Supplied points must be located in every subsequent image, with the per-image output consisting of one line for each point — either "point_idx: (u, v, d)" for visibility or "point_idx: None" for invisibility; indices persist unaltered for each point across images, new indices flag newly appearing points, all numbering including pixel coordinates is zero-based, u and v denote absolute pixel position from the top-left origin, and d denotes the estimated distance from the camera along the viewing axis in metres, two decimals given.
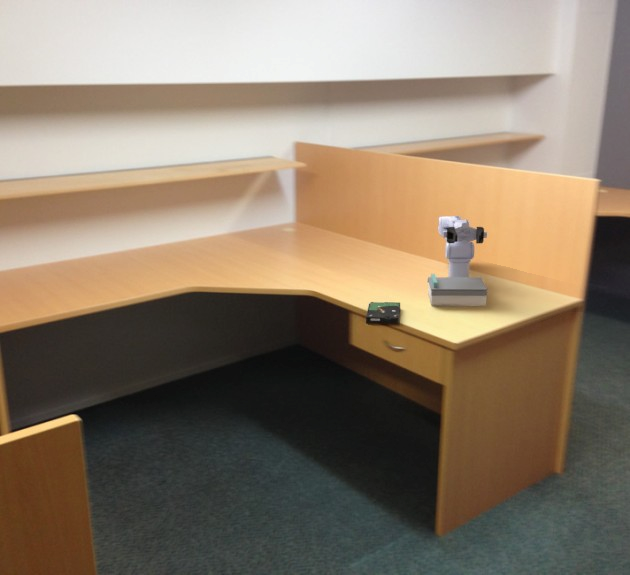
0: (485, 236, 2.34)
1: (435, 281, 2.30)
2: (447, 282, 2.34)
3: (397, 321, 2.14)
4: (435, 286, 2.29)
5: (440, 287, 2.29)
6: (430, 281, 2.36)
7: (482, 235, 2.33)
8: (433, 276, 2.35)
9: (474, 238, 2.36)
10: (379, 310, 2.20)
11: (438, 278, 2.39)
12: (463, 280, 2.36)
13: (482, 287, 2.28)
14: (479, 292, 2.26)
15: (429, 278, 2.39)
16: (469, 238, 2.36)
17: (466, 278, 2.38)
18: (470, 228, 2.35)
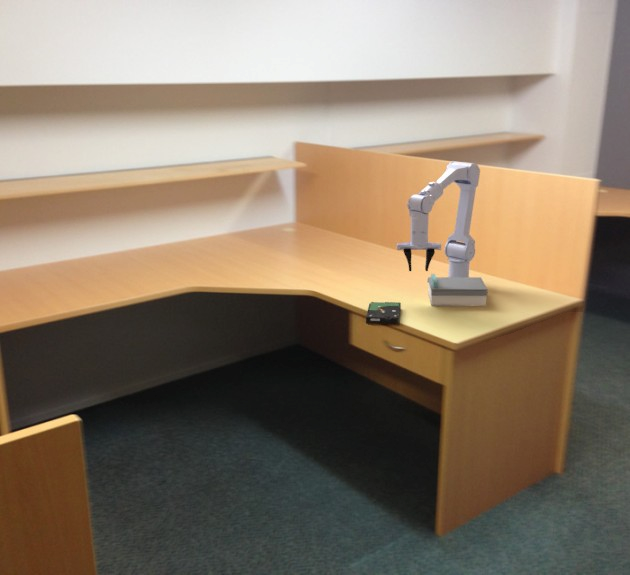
0: None
1: (435, 281, 2.30)
2: (447, 282, 2.34)
3: (397, 321, 2.14)
4: (435, 286, 2.29)
5: (440, 287, 2.29)
6: (430, 281, 2.36)
7: None
8: (433, 276, 2.35)
9: None
10: (379, 310, 2.20)
11: (438, 278, 2.39)
12: (463, 280, 2.36)
13: (482, 287, 2.28)
14: (479, 292, 2.26)
15: (429, 278, 2.39)
16: None
17: (466, 278, 2.38)
18: None
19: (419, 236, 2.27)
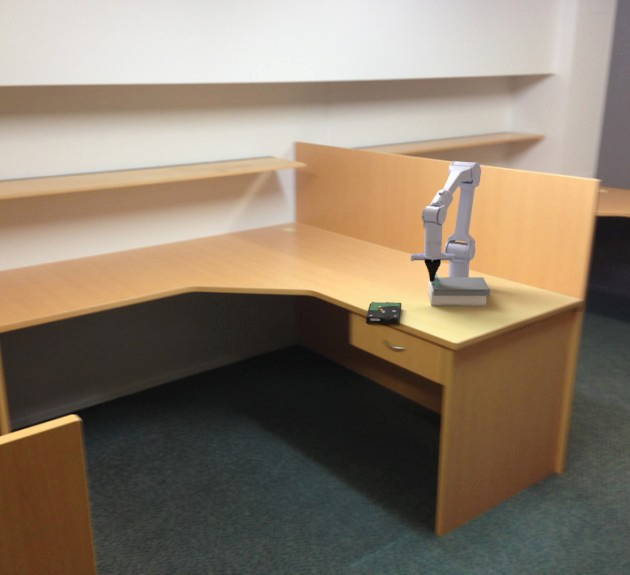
0: None
1: (437, 281, 2.30)
2: (449, 282, 2.34)
3: (397, 321, 2.14)
4: (437, 286, 2.29)
5: (442, 287, 2.29)
6: None
7: None
8: (435, 276, 2.35)
9: None
10: (379, 310, 2.20)
11: (440, 278, 2.39)
12: (465, 280, 2.36)
13: (484, 287, 2.28)
14: (481, 292, 2.26)
15: None
16: None
17: (468, 278, 2.38)
18: None
19: (433, 247, 2.27)
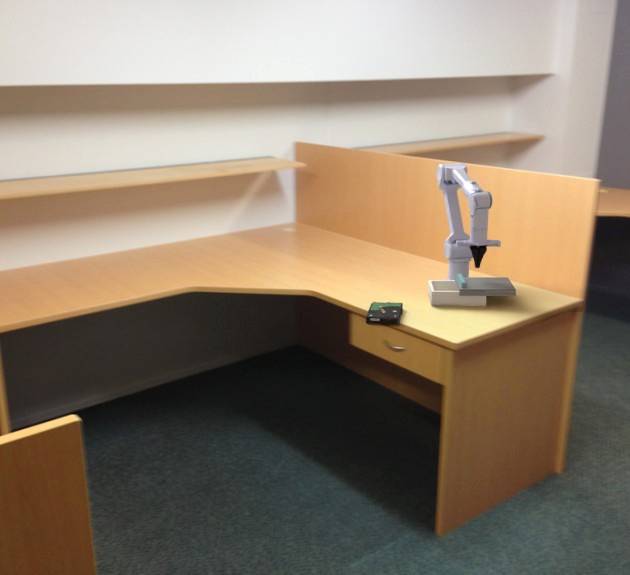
0: None
1: (463, 281, 2.29)
2: (474, 282, 2.34)
3: (397, 321, 2.14)
4: (463, 286, 2.29)
5: (468, 287, 2.29)
6: (457, 281, 2.35)
7: None
8: (460, 276, 2.35)
9: None
10: (380, 310, 2.20)
11: (465, 278, 2.38)
12: (490, 280, 2.36)
13: (510, 287, 2.28)
14: (507, 292, 2.26)
15: (456, 278, 2.39)
16: None
17: (493, 278, 2.38)
18: None
19: (479, 233, 2.29)
